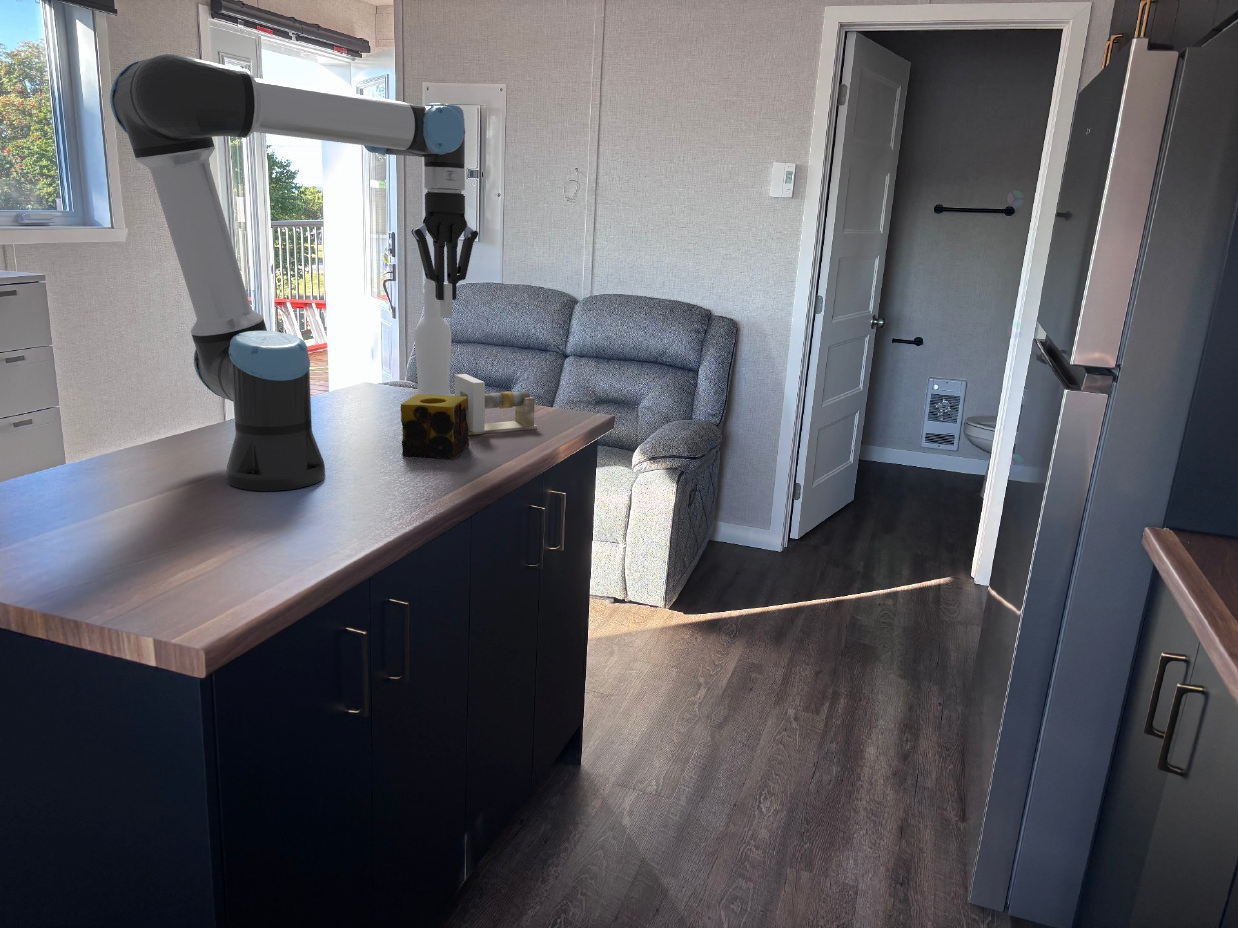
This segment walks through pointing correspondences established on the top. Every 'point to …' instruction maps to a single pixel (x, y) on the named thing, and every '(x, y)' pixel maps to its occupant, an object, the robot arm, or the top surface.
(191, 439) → the top surface
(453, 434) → the yellow cube with hole
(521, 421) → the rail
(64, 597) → the top surface
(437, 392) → the bottle
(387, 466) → the top surface
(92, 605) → the top surface
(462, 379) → the upright white plank
